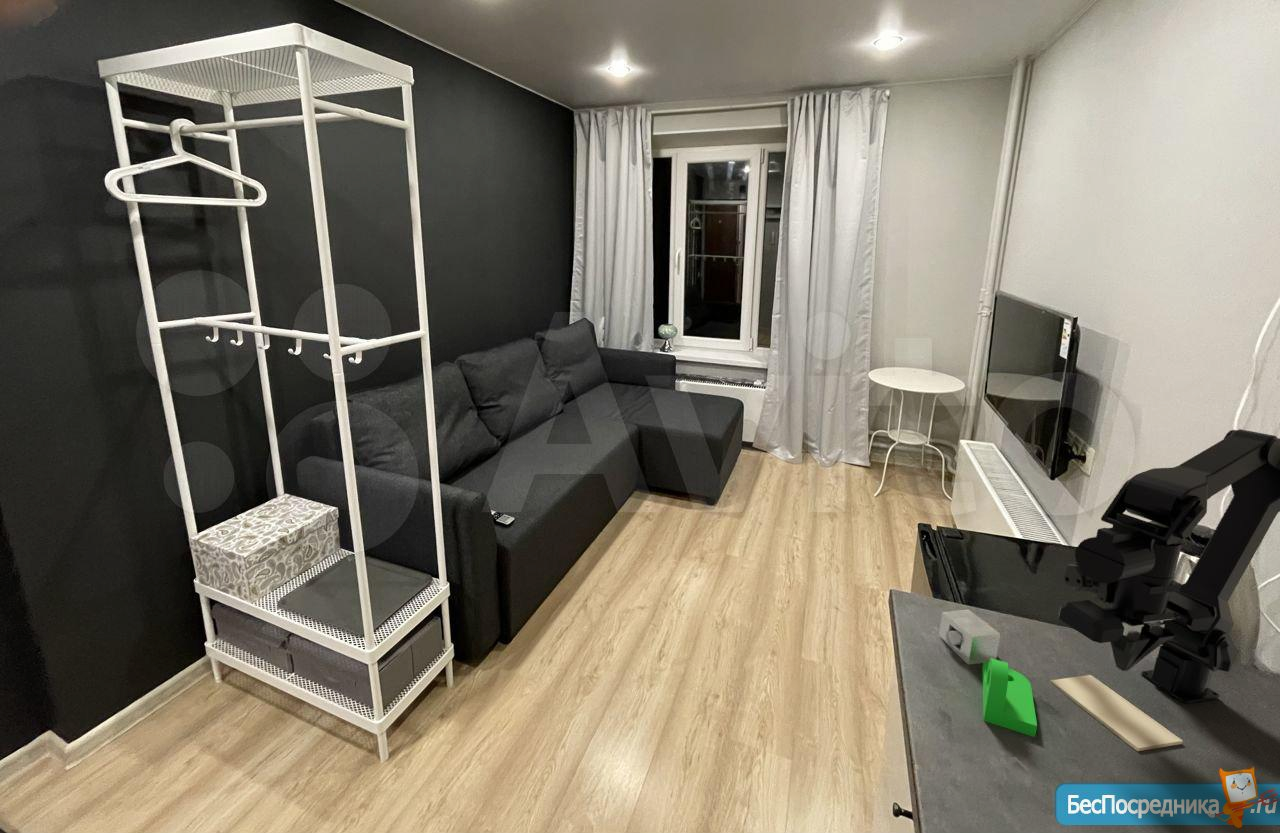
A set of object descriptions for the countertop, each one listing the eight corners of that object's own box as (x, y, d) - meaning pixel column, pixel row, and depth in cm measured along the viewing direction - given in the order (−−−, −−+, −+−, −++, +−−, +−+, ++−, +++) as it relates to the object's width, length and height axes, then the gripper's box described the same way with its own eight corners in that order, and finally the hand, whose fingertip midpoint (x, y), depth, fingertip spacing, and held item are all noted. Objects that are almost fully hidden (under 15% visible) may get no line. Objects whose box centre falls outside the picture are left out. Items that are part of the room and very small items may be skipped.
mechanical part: (1034, 738, 77) (1045, 687, 76) (983, 721, 80) (992, 672, 78) (1026, 685, 88) (1035, 639, 86) (981, 672, 90) (989, 627, 89)
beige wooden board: (1090, 677, 89) (1090, 674, 89) (1182, 743, 76) (1182, 740, 76) (1050, 683, 88) (1050, 680, 88) (1137, 751, 75) (1138, 748, 75)
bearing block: (963, 637, 99) (968, 609, 97) (995, 663, 92) (1000, 633, 91) (938, 640, 98) (942, 612, 97) (967, 667, 91) (972, 637, 90)
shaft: (979, 636, 97) (982, 617, 96) (995, 649, 94) (999, 630, 93) (941, 641, 96) (944, 622, 95) (956, 654, 92) (959, 635, 92)
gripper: (1142, 536, 86) (1121, 628, 90) (1035, 546, 83) (1017, 641, 86) (1228, 573, 75) (1200, 675, 79) (1109, 586, 72) (1086, 692, 76)
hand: (1121, 668), depth 80 cm, fingers closed
